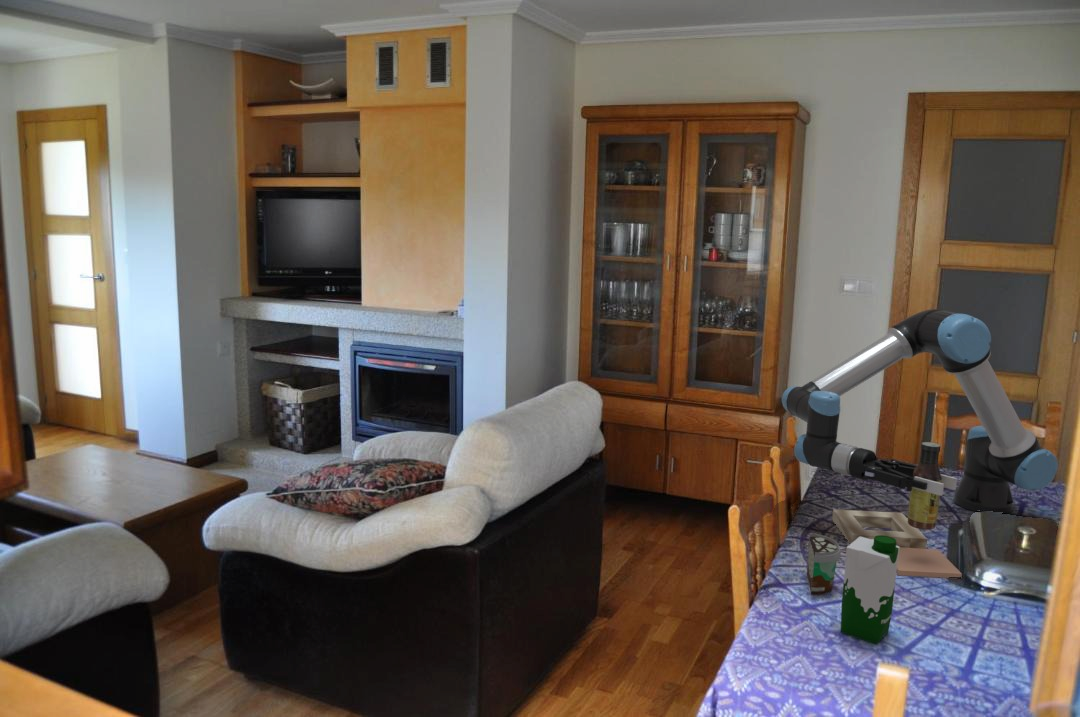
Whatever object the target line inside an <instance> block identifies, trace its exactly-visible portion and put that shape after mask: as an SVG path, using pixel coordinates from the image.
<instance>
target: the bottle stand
mask: <svg viewBox="0 0 1080 717" xmlns="http://www.w3.org/2000/svg"><path fill="white" fill-rule="evenodd" d="M831 521H832V522H833V523H834V525H835V524H836V525H835V526H836V527H837V529H838V528H839V529H838V530H839V532H840V533H841V532H842V533H841V535H844V536H845V537H844V536H843V537H844V538H845V540H846V539H847V540H848V541H847V540H846V541H847V543H848V544H849V543H850V544H851V543H852V542H854V541H855V540H856V539H857V538H858V537H864V538H868V539H874V537H875V536H879V535H883V536H889V537H892V538H894V539H895V540H896V546H899V547H901V548H921V549H927V545H928V538H927V537H926V536H925V535H924V534H923V533H922V532H921V531H920V529H918V528H914V527H912V526H910V525H909V524H908V517H906V515H905V514H903V512H893V511H875V510H874V511H872V510H850V509H832V518H831ZM864 528H878V529H890V530H875V529H864ZM850 544H849V545H850Z"/></svg>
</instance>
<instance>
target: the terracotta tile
mask: <svg viewBox="0 0 1080 717" xmlns="http://www.w3.org/2000/svg"><path fill="white" fill-rule="evenodd" d="M896 575H898V576H899V577H901V576H903V577H918V578H920V577H921V578H922V577H923V578H938V577H940V578H941V579H942V578H943V579H950V578H949V577H961V578H962V576H963V573H962V572H961V571H960V570H959V569H958V568H957V567H956V566H955V565H954V564H953V563H952V562H951V561H950V560H949V559H948V558H947V557H946V556H945V555H944V554H943V553H942V552H941V550H940V549H936V548H926V549H921V548H901V547H900V549H899V556H898V563H897V571H896Z"/></svg>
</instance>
